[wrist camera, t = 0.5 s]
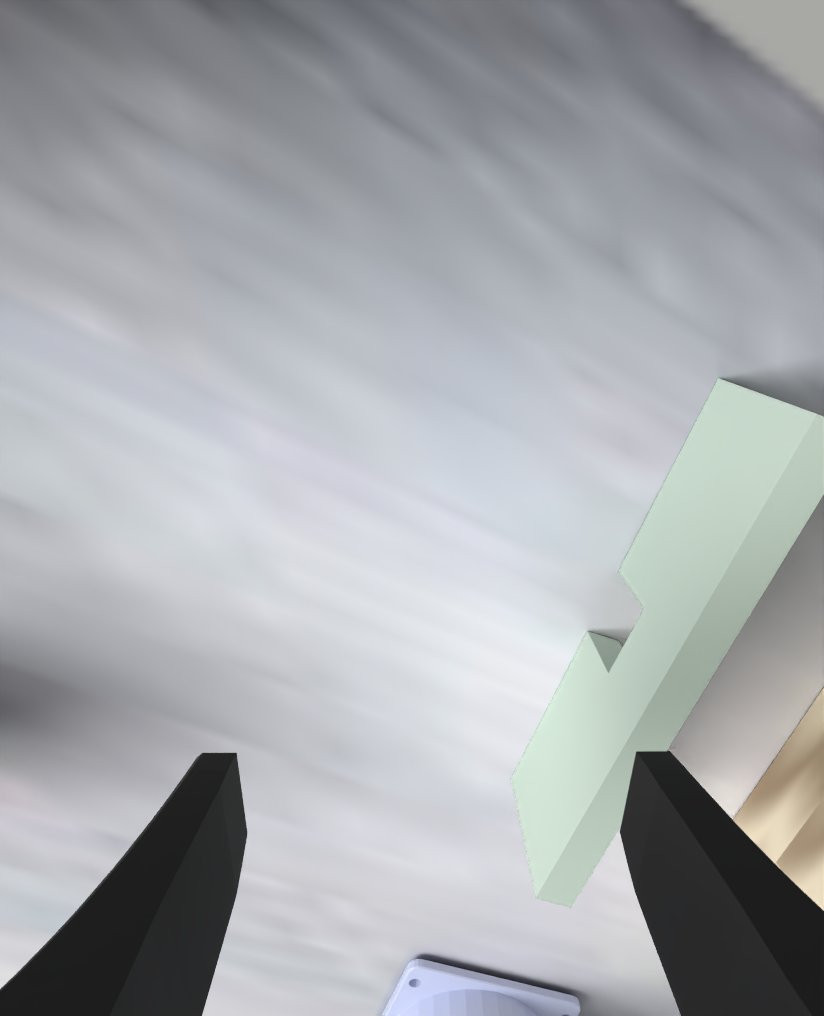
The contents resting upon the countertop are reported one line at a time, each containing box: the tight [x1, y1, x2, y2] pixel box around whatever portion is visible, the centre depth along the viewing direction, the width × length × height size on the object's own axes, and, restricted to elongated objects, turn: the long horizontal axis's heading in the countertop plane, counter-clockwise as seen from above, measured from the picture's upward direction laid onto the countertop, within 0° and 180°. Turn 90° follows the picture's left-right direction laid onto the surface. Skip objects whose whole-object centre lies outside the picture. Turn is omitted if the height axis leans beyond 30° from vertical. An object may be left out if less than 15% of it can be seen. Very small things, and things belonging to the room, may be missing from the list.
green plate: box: [511, 378, 824, 908], centre depth 20 cm, size 16×1×5 cm, turn 160°
